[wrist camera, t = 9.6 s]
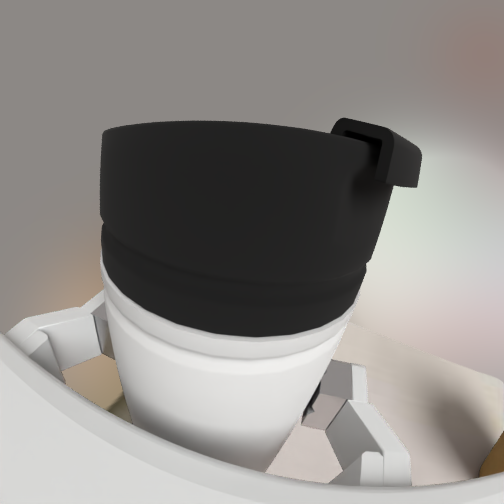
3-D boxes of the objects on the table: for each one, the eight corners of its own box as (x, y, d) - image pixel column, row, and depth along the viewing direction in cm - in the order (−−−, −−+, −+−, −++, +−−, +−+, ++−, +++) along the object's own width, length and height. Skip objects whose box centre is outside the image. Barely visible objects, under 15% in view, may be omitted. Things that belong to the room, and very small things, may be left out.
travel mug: (199, 537, 10) (289, 67, 1) (137, 463, 14) (79, 99, 5) (272, 488, 14) (446, 163, 5) (210, 427, 18) (258, 115, 10)
